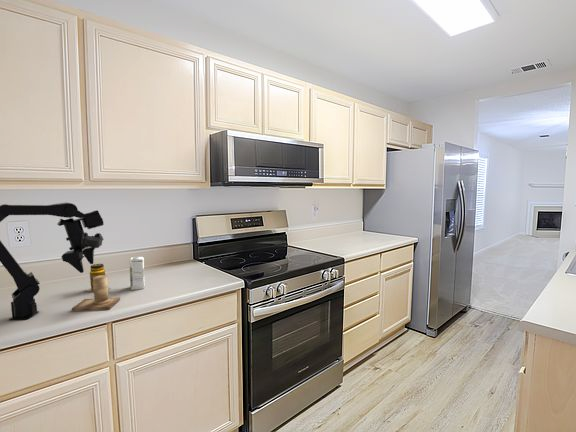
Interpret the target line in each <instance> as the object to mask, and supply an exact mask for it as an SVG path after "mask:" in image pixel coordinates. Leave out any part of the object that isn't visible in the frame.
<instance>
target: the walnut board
mask: <svg viewBox="0 0 576 432" xmlns="http://www.w3.org/2000/svg"><path fill="white" fill-rule="evenodd" d="M109 298H110V302H109V303H106V304H103V305H94V304H93V301H94V298H84V299H82V300H81V301H79V302H78V303H76V305H74V306H73V307H72V308H71V312H83V311H87V312H88V311H106V310H108V311H109V310H111V309H112V308H113V307H115V305H117V304H118V303H119V302H120V301H121V297H109Z"/></svg>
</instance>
